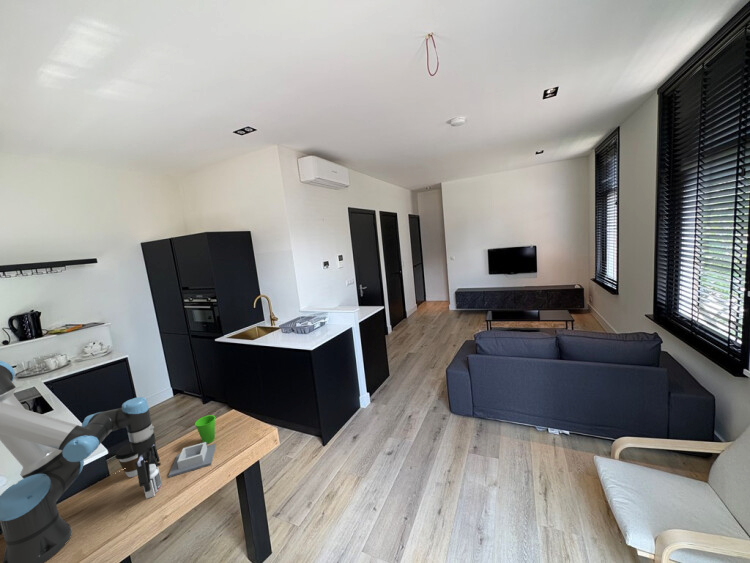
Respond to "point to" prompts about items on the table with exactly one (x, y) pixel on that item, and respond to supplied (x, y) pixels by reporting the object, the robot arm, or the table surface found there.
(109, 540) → the table surface
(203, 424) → the cup
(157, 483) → the pill bottle
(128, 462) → the coffee cup
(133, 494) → the table surface
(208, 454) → the socket
